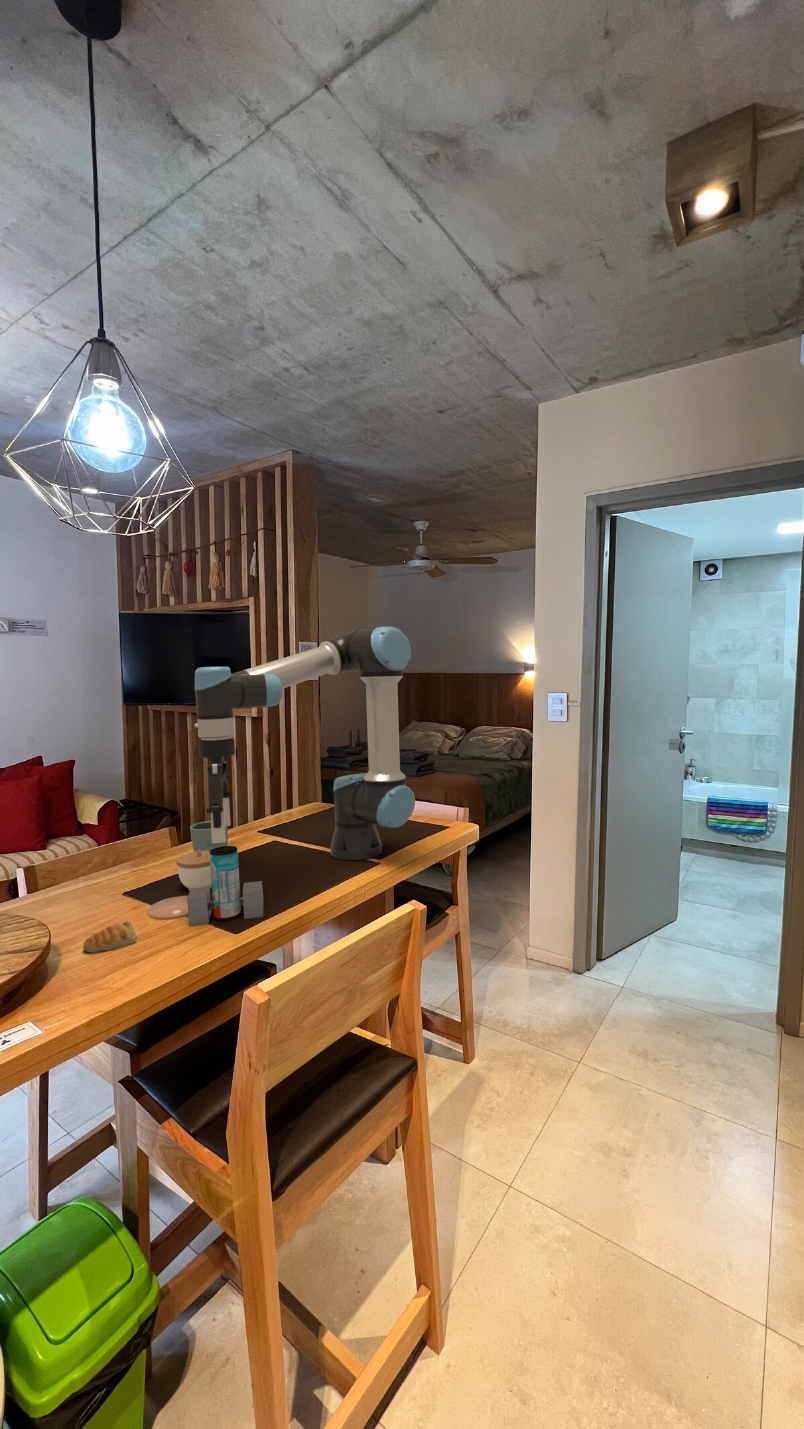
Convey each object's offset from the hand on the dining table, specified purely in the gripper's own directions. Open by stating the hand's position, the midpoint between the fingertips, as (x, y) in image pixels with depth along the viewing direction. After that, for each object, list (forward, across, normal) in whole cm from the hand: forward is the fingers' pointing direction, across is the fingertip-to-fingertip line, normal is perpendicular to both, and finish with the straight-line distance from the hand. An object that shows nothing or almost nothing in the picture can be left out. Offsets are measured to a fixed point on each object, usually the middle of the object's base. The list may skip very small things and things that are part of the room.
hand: (221, 833), depth 129 cm
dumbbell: (+19, -2, 0) cm, 19 cm away
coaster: (+19, -8, -12) cm, 23 cm away
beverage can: (+19, 0, 0) cm, 19 cm away
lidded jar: (+19, -21, -8) cm, 29 cm away
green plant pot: (+19, -37, -7) cm, 42 cm away
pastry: (+19, +8, -21) cm, 30 cm away
